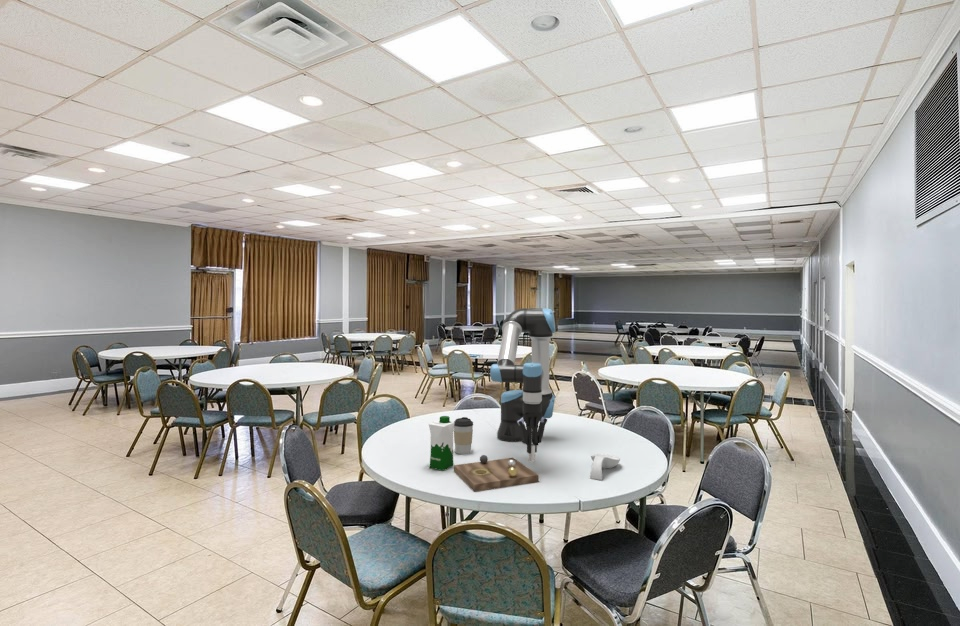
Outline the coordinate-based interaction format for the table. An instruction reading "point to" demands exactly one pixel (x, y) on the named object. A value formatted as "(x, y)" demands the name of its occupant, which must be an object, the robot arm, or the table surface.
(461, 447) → the coffee cup
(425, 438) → the table surface
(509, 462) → the steel ball
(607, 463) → the white curved piece
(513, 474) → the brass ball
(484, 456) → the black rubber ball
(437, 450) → the milk carton
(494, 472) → the board
